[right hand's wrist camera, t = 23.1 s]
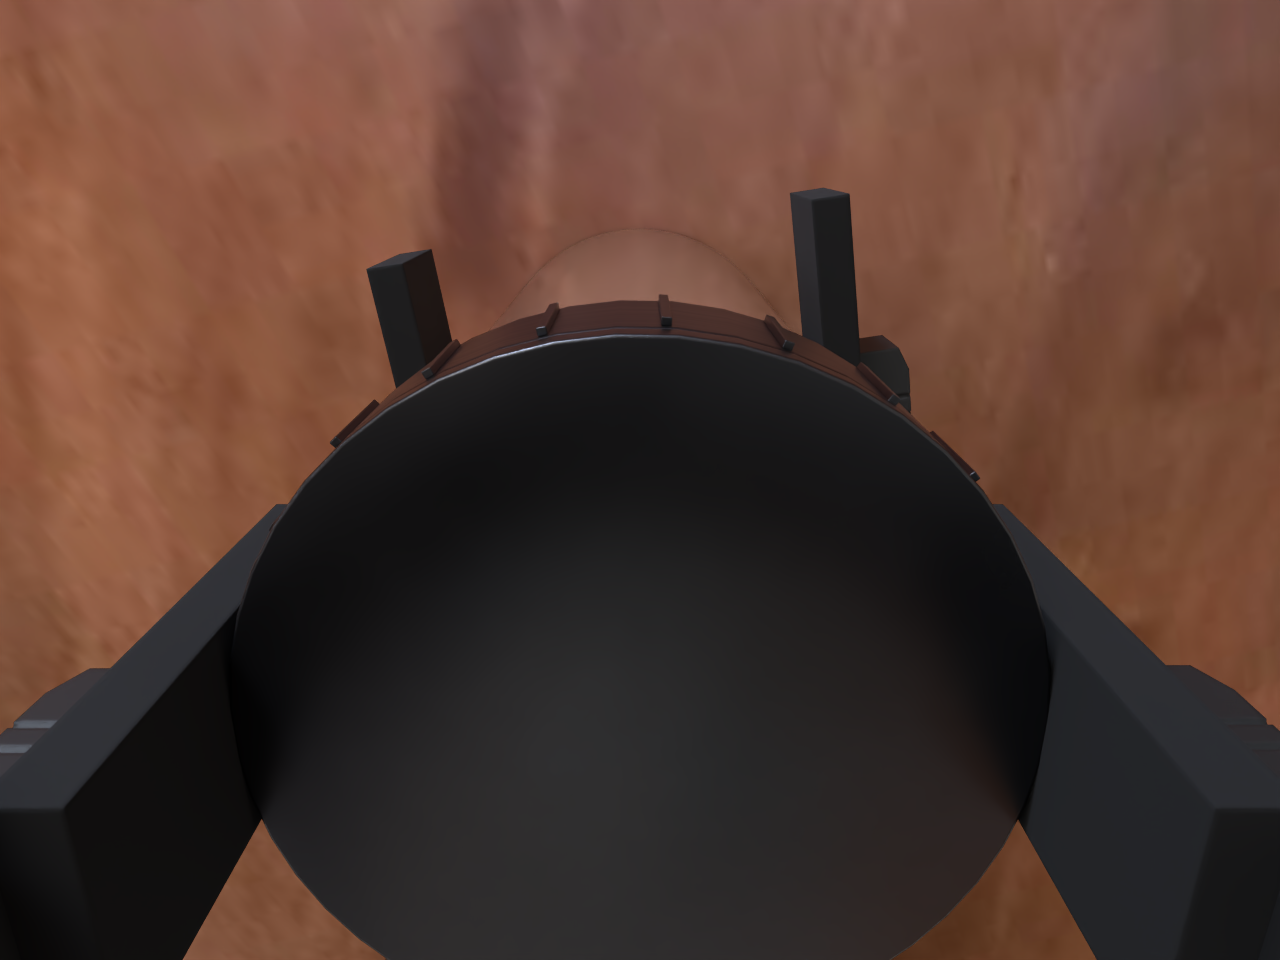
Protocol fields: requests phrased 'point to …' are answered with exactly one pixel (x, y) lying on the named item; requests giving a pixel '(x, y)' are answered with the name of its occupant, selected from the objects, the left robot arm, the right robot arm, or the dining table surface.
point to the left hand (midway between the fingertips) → (606, 227)
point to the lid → (639, 654)
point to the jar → (639, 276)
